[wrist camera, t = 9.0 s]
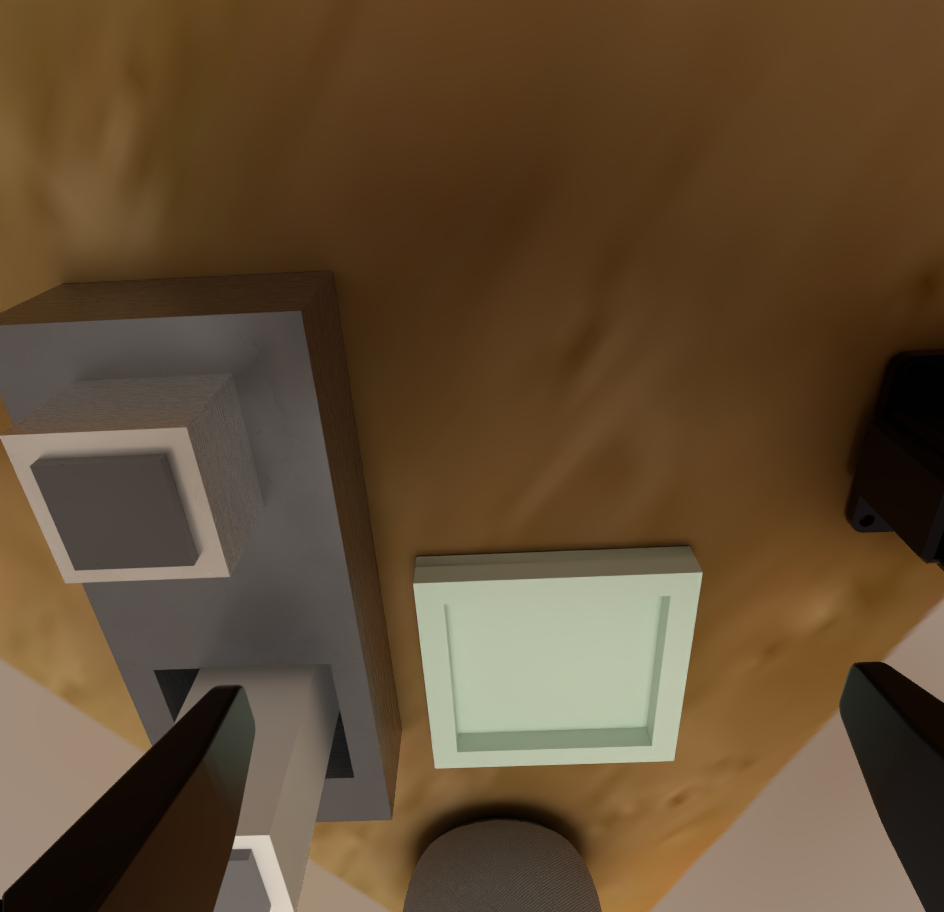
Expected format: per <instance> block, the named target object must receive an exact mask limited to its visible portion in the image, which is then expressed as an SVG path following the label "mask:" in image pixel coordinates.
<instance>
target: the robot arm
mask: <svg viewBox="0 0 944 912" xmlns="http://www.w3.org/2000/svg"><path fill="white" fill-rule="evenodd" d="M909 364H912V367H911V368H910V370H909V371H908V372H907V373H905V374H902V371H903V369H904V368H905V367H906V366H907V365H909ZM852 486H853V488H854V489H853V493H852V497H851V500H850V504H849V508H848V511H847V518H846V519H847V521H848V523H849V524H850V525H851V526H852V527H853V529H854V530H856V531H858V532H863V533H865V532H890V531H895V532H896V533H897V534H898V535H899V536H900V538H901V539H902V540H903V541H904V542H905V543H906V544H907V545H908V546H909V547H910V548H911V549H912V550H913V551H914V552H915V553H916V554H917V555H918V556H919V557H920V558H921V559H922V560H923V561H924V562H925V563H927V564H930V563H936V564H937V565H938V566H939V567H940V568H941V569H942V570H943V571H944V350H926V351H907V352H902V353H900V354H898V355H896V356H895V357H894V358H893V359H892V360H891V361H890V362H889V364H888V366H887V369H886V372H885V376H884V380H883V383H882V387H881V391H880V394H879V398H878V402H877V405H876V409H875V413H874V416H873V419H872V420H871V422H870V423H869V425H868V429H867V432H866V436H865V440H864V444H863V447H862V451H861V455H860V458H859V462H858V466H857V469H856V473H855V477H854V480H853V484H852ZM865 515H868V516H867V517H866V518H865V519H863V520H860V519H861V518H862V517H863V516H865ZM839 708H840V714H841V718H842V720H843V723H844V726H845V728H846V731H847V734H848V736H849V739H850V742H851V744H852V747H853V749H854V752H855V755H856V757H857V760H858V763H859V765H860V768H861V770H862V773H863V776H864V778H865V781H866V784H867V787H868V789H869V792H870V794H871V797H872V800H873V802H874V805H875V807H876V810H877V812H878V814H879V817H880V819H881V822H882V824H883V826H884V828H885V830H886V832H887V835H888V837H889V839H890V841H891V843H892V845H893V847H894V849H895V851H896V853H897V855H898V857H899V859H900V861H901V863H902V865H903V867H904V869H905V871H906V873H907V875H908V877H909V879H910V881H911V883H912V885H913V887H914V889H915V891H916V893H917V895H918V897H919V899H920V901H921V903H922V905H923V907H924V909H925V911H926V912H944V703H943V702H942V701H940V700H939V699H937V698H936V697H934V696H933V695H931V694H930V693H928V692H927V691H926V690H924V689H923V688H921V687H920V686H918V685H917V684H915V683H914V682H912V681H911V680H910V679H908V678H907V677H905V676H903V675H902V674H901V673H899V672H898V671H896V670H895V669H894V668H892V667H891V666H889V665H887V664H885V663H882V662H858V663H854V664H853V665H852V666H851V667H850V669H849V672H848V676H847V679H846V682H845V685H844V688H843V691H842V694H841V697H840V702H839ZM254 739H255V720H254V716H253V713H252V710H251V707H250V703H249V700H248V697H247V694H246V691H245V689H244V687H243V686H241V685H238V684H236V685H217V686H215V687H213V688H211V689H210V690H209V691H208V692H207V693H206V694H205V695H204V696H203V697H202V698H201V699H200V700H199V701H198V702H197V703H196V704H195V705H194V706H193V707H192V708H191V709H190V710H189V711H188V712H187V713H186V714H185V715H184V716H183V717H182V718H181V719H180V720H179V721H178V722H177V723H176V724H175V725H174V726H173V727H172V728H171V729H170V730H169V731H168V732H167V733H166V734H165V735H164V736H162V737H161V738H160V739H159V740H158V741H157V742H156V743H155V744H154V745H153V746H152V747H151V748H150V749H149V750H148V751H147V752H146V753H145V754H144V755H143V756H142V757H141V758H140V759H139V760H138V761H137V762H136V763H135V764H134V765H133V766H132V767H131V768H130V769H129V770H128V771H127V772H126V773H125V774H124V775H123V776H122V777H121V778H120V779H119V780H118V781H117V782H116V783H115V784H114V785H113V786H112V787H111V788H110V789H109V790H108V791H107V792H106V793H105V794H104V795H103V796H102V797H101V798H100V799H99V800H98V801H97V802H96V803H95V804H94V805H93V806H92V807H91V808H90V809H89V810H88V811H87V812H86V813H84V814H83V815H82V816H81V817H80V818H79V819H78V820H77V821H76V822H75V823H74V824H73V825H72V826H71V827H70V828H69V829H68V830H67V831H66V832H65V833H64V834H63V835H62V836H61V837H60V838H59V839H58V840H57V841H56V842H55V843H54V844H53V845H52V846H51V847H50V848H49V849H48V850H47V851H46V852H45V853H44V854H43V855H42V856H41V857H40V858H39V859H38V860H37V861H36V862H35V863H34V864H33V865H32V866H31V867H30V868H29V869H28V870H27V871H26V872H25V873H24V874H23V875H22V876H21V877H20V878H19V879H18V880H17V881H16V882H15V883H14V884H13V885H12V886H10V888H8V890H7V891H5V892H4V894H3V896H2V900H1V899H0V912H213V911H214V908H215V905H216V901H217V898H218V895H219V891H220V888H221V885H222V882H223V878H224V875H225V872H226V868H227V865H228V862H229V859H230V855H231V851H232V848H233V844H234V840H235V836H236V831H237V826H238V822H239V817H240V811H241V806H242V801H243V796H244V791H245V786H246V780H247V775H248V770H249V765H250V760H251V755H252V749H253V744H254Z"/></svg>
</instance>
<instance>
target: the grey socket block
mask: <svg viewBox="0 0 944 912" xmlns="http://www.w3.org/2000/svg"><path fill="white" fill-rule="evenodd" d="M0 395H1V397H2V399H3V402H4V404H5V406H6V408H7V411H8V413H9V415H10V418H11V420H12V422H13V426H12V427H11V428H9V429H8V430H6V431H5V432H4V433H2V434H1V435H0V438H1V440H2V443H3V445H4V447H5V449H6V452H7V454H8V456H9V458H10V461H11V463H12V465H13V467H14V470H15V472H16V474H17V476H18V478H19V481H20V483H21V485H22V487H23V490H24V492H25V494H26V496H27V499H28V501H29V503H30V505H31V508H32V510H33V512H34V514H35V516H36V519H37V521H38V523H39V525H40V528H41V530H42V532H43V534H44V537H45V539H46V541H47V543H48V546H49V548H50V550H51V552H52V554H53V557H54V559H55V561H56V563H57V566H58V568H59V570H60V572H61V575H62V577H63V579H64V581H65V583H82V585H83V587H84V589H85V591H86V594H87V596H88V598H89V601H90V603H91V605H92V608H93V610H94V612H95V615H96V617H97V619H98V622H99V624H100V626H101V629H102V631H103V633H104V635H105V638H106V640H107V642H108V645H109V647H110V649H111V652H112V654H113V656H114V659H115V661H116V663H117V666H118V668H119V670H120V673H121V675H122V677H123V680H124V682H125V684H126V686H127V689H128V691H129V693H130V696H131V698H132V700H133V703H134V705H135V707H136V710H137V712H138V714H139V717H140V719H141V721H142V724H143V726H144V728H145V730H146V733H147V735H148V737H149V740H150V742H151V744H152V746H153V745H154V744H155V743H156V742H157V741H158V740H159V739H160V738H161V737H162V736H164V735H165V734H166V733H167V732H168V731H169V730H170V729H171V728H172V727H173V725H174V723H175V721H176V719H177V717H178V715H179V712H180V710H181V708H182V706H183V704H184V702H185V700H186V698H187V695H188V693H189V691H190V689H191V687H192V685H193V683H194V681H195V678H196V676H197V674H198V672H199V670H200V668H225V667H253V666H281V665H309V664H330V665H331V670H332V675H333V679H334V684H335V689H336V693H337V698H338V703H339V708H340V710H339V714H338V719H337V724H336V728H335V733H334V738H333V742H332V747H331V752H330V756H329V761H328V766H327V770H326V775H325V780H324V785H323V789H322V794H321V799H320V803H319V808H318V813H317V817H316V822H336V821H369V820H392V816H393V807H394V798H395V788H396V779H397V770H398V761H399V752H400V743H401V734H402V730H401V723H400V716H399V710H398V703H397V697H396V690H395V683H394V677H393V670H392V663H391V657H390V650H389V643H388V637H387V630H386V623H385V617H384V610H383V604H382V597H381V590H380V584H379V577H378V570H377V564H376V557H375V550H374V544H373V537H372V530H371V524H370V517H369V511H368V504H367V497H366V491H365V484H364V477H363V471H362V464H361V457H360V451H359V444H358V437H357V431H356V424H355V418H354V411H353V404H352V398H351V391H350V384H349V378H348V371H347V364H346V358H345V351H344V345H343V338H342V331H341V325H340V318H339V311H338V305H337V298H336V291H335V285H334V278H333V271H313V272H293V273H273V274H253V275H233V276H213V277H193V278H173V279H153V280H133V281H113V282H93V283H73V284H61V285H59V286H57V287H55V288H52V289H50V290H48V291H46V292H44V293H42V294H40V295H38V296H35V297H33V298H31V299H29V300H27V301H25V302H23V303H21V304H19V305H16V306H14V307H12V308H10V309H8V310H6V311H4V312H2V313H0Z"/></svg>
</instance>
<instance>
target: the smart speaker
mask: <svg viewBox="0 0 944 912" xmlns="http://www.w3.org/2000/svg"><path fill="white" fill-rule="evenodd" d="M403 912H602V911H601V906H600V902H599V898H598V895H597V891H596V889H595V886H594V883H593V880H592V877H591V875H590V873H589V871H588V868H587V866H586V864H585V862H584V861H583V859H582V857H581V856H580V854H579V853H578V852H577V850H576V849H575V848H574V846H573V845H572V844H571V843H570V842H569V841H568V840H567V839H566V838H564V837H563V836H562V835H560V834H559V833H557V832H555V831H554V830H552V829H550V828H548V827H546V826H543V825H541V824H538V823H535V822H532V821H528V820H523V819H518V818H507V817H495V818H485V819H478V820H474V821H470V822H467V823H464V824H461V825H459V826H456V827H454V828H452V829H450V830H449V831H447V832H445V833H444V834H442V835H441V836H439V837H438V838H437V839H435V840H434V841H433V842H432V843H431V844H430V845H429V846H428V847H427V849H426V850H425V851H424V853H423V854H422V856H421V858H420V859H419V861H418V863H417V865H416V867H415V869H414V872H413V874H412V877H411V880H410V883H409V886H408V891H407V895H406V899H405V903H404V909H403Z"/></svg>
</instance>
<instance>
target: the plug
mask: <svg viewBox="0 0 944 912" xmlns="http://www.w3.org/2000/svg"><path fill="white" fill-rule="evenodd" d="M236 684H238V685H241V686H243V687H244V689H245V691H246V694H247V697H248V700H249V703H250V707H251V710H252V713H253V716H254V720H255V739H254V744H253V749H252V755H251V760H250V765H249V770H248V775H247V780H246V786H245V791H244V796H243V801H242V806H241V811H240V817H239V822H238V826H237V831H236V836H235V840H234V844H233V848H232V851H231V855H230V859H229V862H228V865H227V868H226V872H225V875H224V878H223V882H222V885H221V888H220V891H219V895H218V898H217V901H216V905H215V908H214V911H213V912H296V911H297V906H298V901H299V897H300V892H301V887H302V883H303V878H304V873H305V869H306V864H307V859H308V855H309V850H310V845H311V841H312V836H313V831H314V827H315V822H316V817H317V813H318V808H319V803H320V799H321V794H322V789H323V785H324V780H325V775H326V770H327V766H328V761H329V756H330V752H331V747H332V742H333V738H334V733H335V728H336V724H337V719H338V714H339V710H340V708H339V703H338V698H337V693H336V689H335V684H334V679H333V675H332V670H331V665H330V664H309V665H281V666H253V667H225V668H200V670H199V672H198V674H197V676H196V678H195V681H194V683H193V685H192V687H191V689H190V691H189V693H188V695H187V698H186V700H185V702H184V704H183V706H182V708H181V710H180V712H179V715H178V717H177V719H176V721H175V723H174V725H175V724H176V723H177V722H178V721H179V720H180V719H181V718H182V717H183V716H184V715H185V714H186V713H187V712H188V711H189V710H190V709H191V708H192V707H193V706H194V705H195V704H196V703H197V702H198V701H199V700H200V699H201V698H202V697H203V696H204V695H205V694H206V693H207V692H208V691H209V690H210V689H211V688H213V687H215V686H217V685H236ZM174 725H173V726H174Z"/></svg>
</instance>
